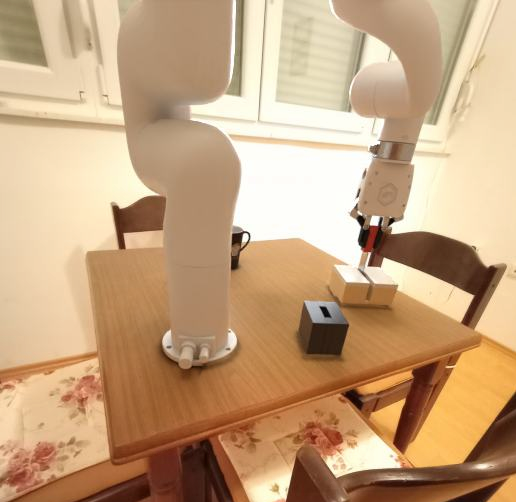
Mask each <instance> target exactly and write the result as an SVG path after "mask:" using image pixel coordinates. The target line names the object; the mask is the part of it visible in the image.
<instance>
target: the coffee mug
mask: <svg viewBox="0 0 516 502" xmlns="http://www.w3.org/2000/svg"><path fill="white" fill-rule="evenodd" d="M244 234H247V236H248V237H247V238H248V239H247V241H246V243H245V244H244V245H243V246H242V243H243V238H244ZM251 239H252V238H251V233H250V232H249V231H247V230H245V229H244V228H243V227H241V226H238V225H234V224H233V228H232V242H231V271H232V270H236V269H238V268H239V262H240V257H241V252H242V251H243V250H244V249H245V248H246V247H247V246H248V245H249V243H250V241H251Z"/></svg>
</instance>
